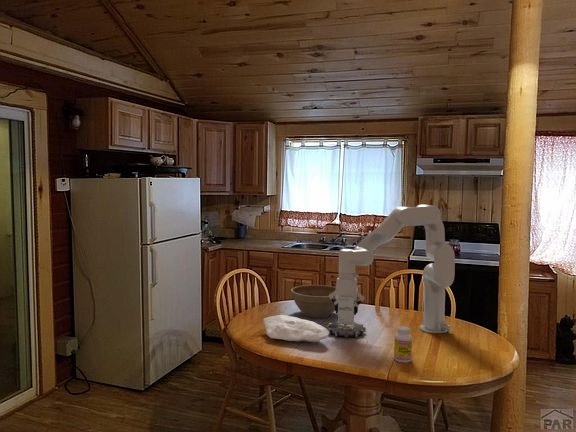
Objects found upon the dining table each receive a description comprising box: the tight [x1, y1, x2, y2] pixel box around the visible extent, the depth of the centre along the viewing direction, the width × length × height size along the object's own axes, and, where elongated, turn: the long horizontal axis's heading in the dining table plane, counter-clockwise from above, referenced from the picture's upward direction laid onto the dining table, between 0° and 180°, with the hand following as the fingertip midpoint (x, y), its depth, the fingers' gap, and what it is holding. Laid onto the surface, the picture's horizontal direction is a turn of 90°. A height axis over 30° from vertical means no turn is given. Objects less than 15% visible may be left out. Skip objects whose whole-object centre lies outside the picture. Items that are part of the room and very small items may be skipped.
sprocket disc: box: [325, 321, 367, 338], centre depth 218 cm, size 18×18×6 cm
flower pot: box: [290, 284, 337, 319], centre depth 248 cm, size 28×28×13 cm
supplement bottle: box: [393, 325, 413, 364], centre depth 184 cm, size 7×7×13 cm
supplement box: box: [337, 296, 355, 325], centre depth 217 cm, size 7×7×13 cm
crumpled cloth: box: [262, 314, 330, 343], centre depth 211 cm, size 24×35×9 cm
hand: (346, 313), depth 218 cm, fingers closed on supplement box, 7 cm apart
